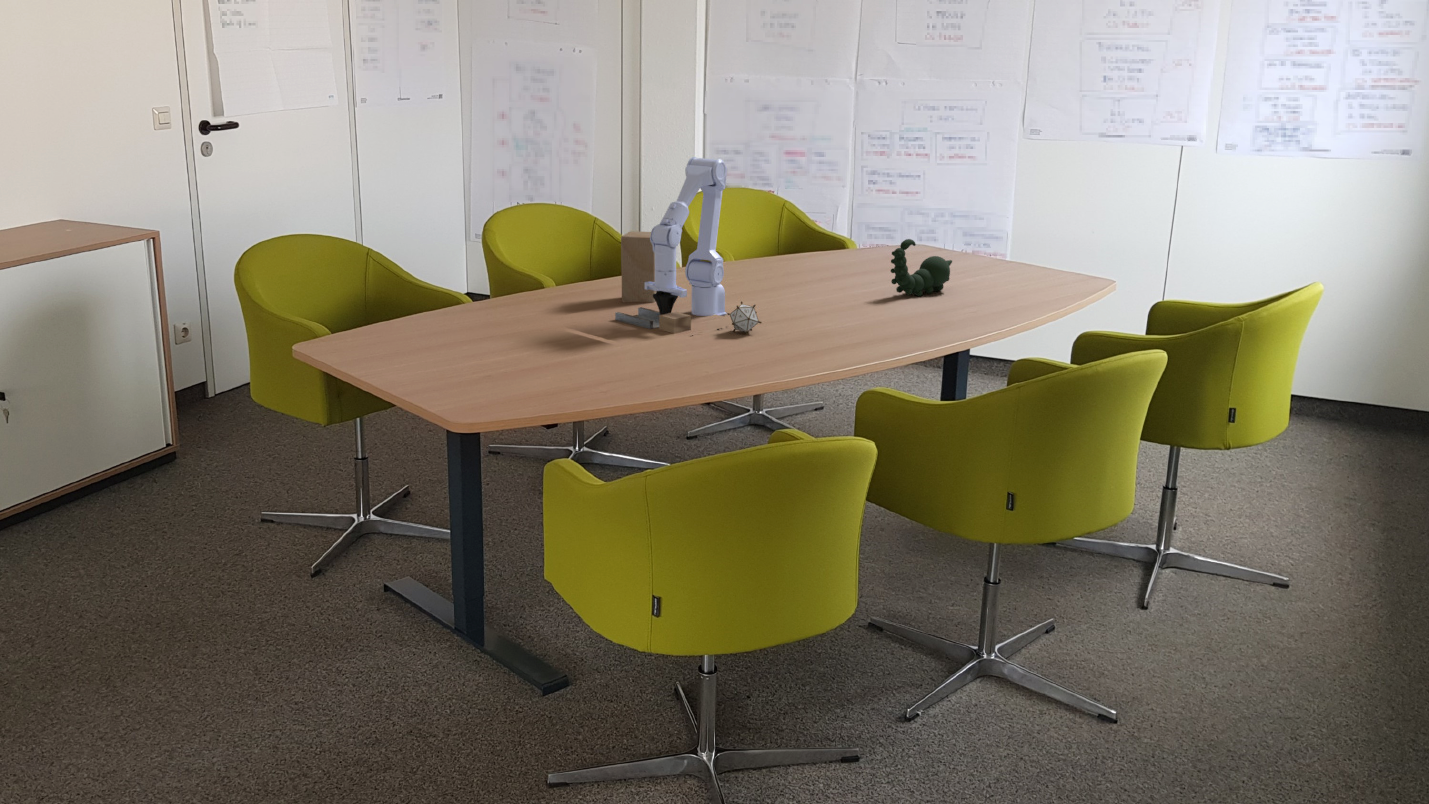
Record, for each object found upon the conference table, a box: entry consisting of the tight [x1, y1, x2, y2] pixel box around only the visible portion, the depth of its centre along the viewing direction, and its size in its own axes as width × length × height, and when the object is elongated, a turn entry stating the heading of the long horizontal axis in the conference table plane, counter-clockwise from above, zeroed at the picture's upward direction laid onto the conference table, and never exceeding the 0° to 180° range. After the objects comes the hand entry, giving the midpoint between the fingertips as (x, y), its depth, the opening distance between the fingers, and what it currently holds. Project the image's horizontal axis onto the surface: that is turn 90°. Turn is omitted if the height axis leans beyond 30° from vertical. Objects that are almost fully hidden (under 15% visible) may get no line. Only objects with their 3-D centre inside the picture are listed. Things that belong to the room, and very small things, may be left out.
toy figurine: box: [890, 238, 953, 297], centre depth 371 cm, size 9×19×25 cm
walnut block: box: [658, 311, 692, 334], centre depth 323 cm, size 6×6×4 cm
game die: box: [726, 301, 763, 336], centre depth 323 cm, size 9×8×10 cm
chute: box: [614, 306, 702, 333], centre depth 328 cm, size 10×24×3 cm, turn 46°
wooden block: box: [620, 230, 657, 304], centre depth 356 cm, size 10×10×20 cm
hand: (665, 319), depth 326 cm, fingers closed
